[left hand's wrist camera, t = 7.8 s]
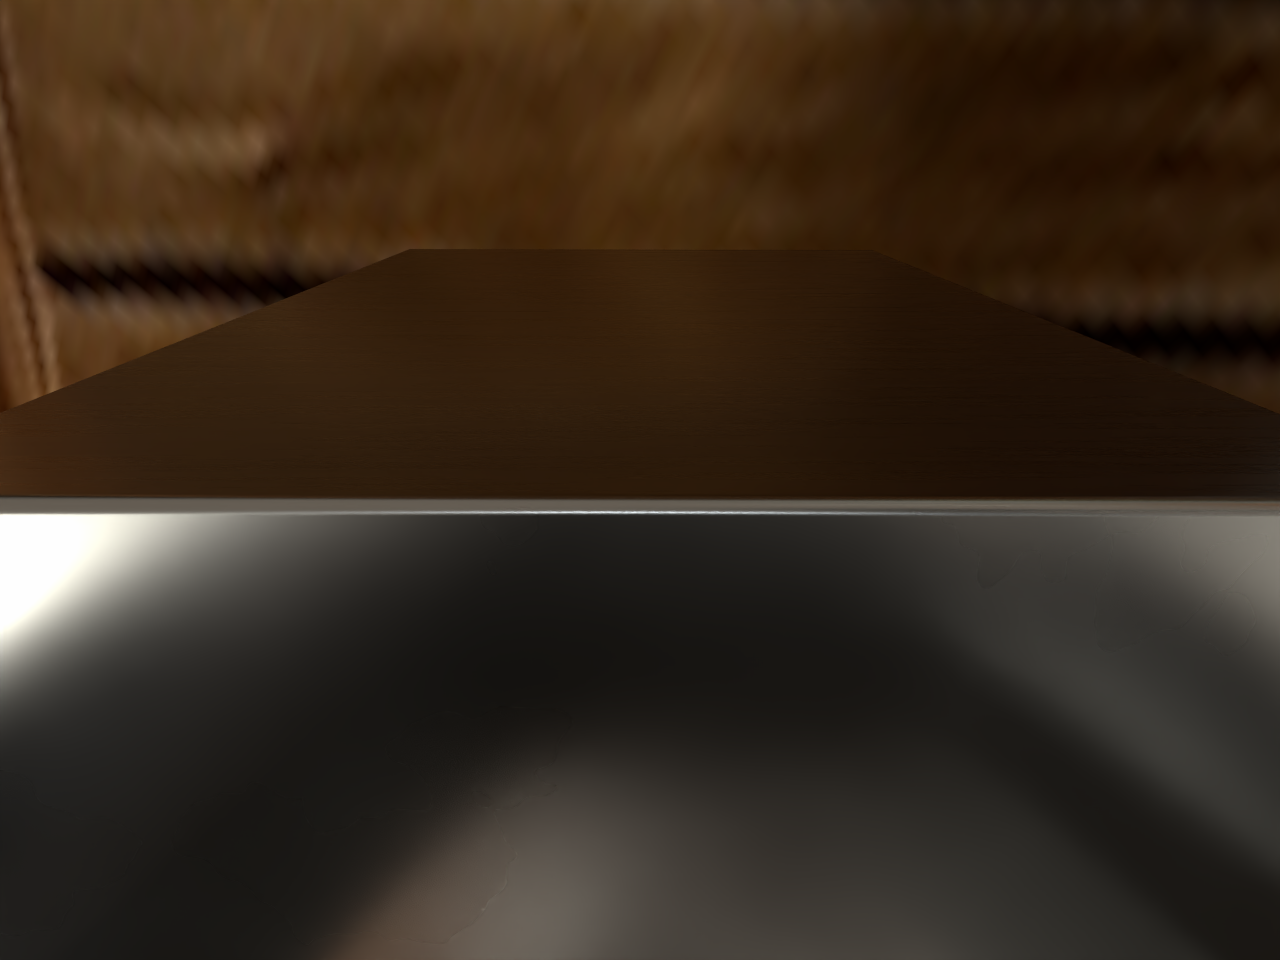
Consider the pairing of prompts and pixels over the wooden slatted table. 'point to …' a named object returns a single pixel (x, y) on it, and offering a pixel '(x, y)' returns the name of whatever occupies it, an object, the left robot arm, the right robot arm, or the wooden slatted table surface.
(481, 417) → the box
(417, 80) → the wooden slatted table surface
